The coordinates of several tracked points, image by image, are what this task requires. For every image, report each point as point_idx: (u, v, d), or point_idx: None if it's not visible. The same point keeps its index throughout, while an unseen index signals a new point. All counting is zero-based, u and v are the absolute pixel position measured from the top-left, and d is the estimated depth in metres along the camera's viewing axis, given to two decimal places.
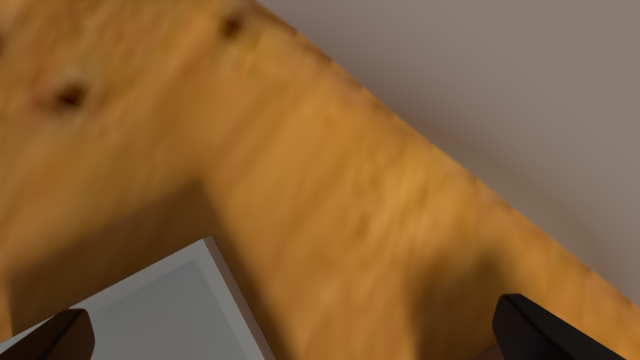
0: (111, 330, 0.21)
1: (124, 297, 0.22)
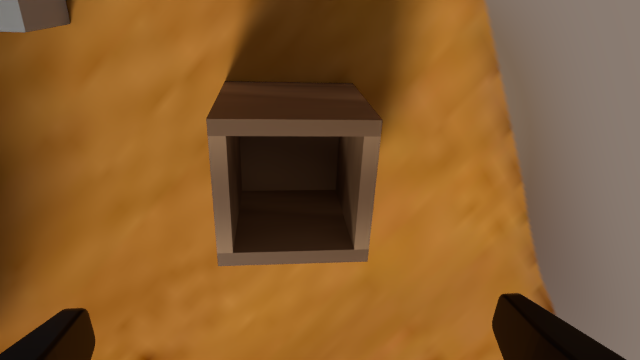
0: None
1: None
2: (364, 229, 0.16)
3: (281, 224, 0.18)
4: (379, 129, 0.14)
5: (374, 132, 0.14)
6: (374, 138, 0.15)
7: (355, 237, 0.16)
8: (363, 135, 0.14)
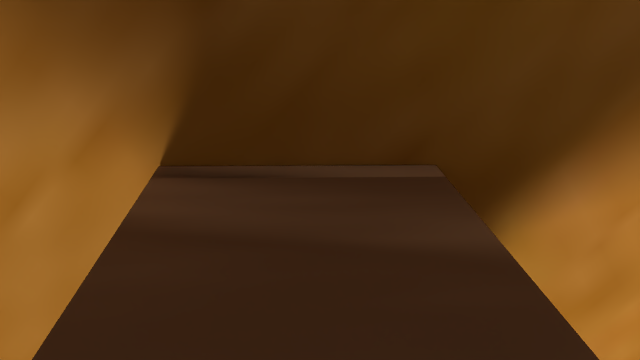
0: None
1: None
2: None
3: None
4: None
5: None
6: None
7: None
8: None
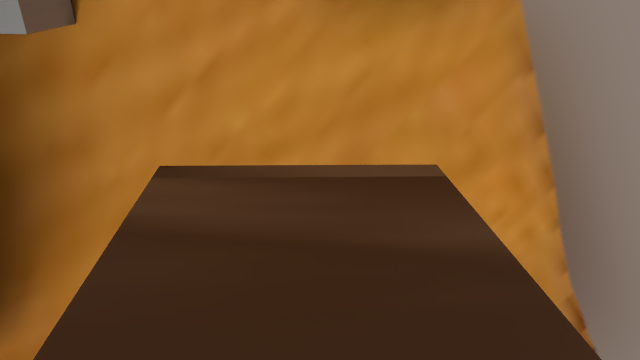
0: None
1: None
2: None
3: None
4: None
5: None
6: None
7: None
8: None
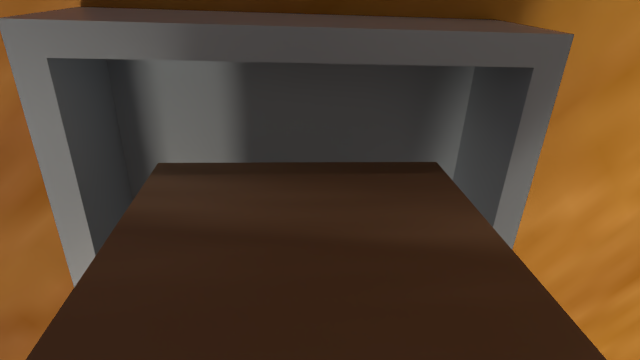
0: (264, 91, 0.11)
1: None
2: None
3: None
4: None
5: None
6: None
7: None
8: None
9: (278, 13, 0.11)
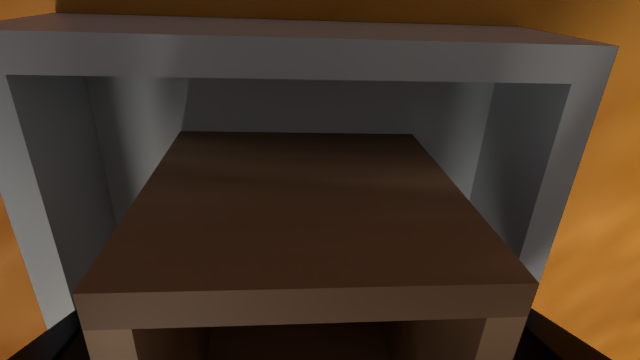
0: (261, 106, 0.10)
1: None
2: None
3: None
4: (527, 302, 0.06)
5: (514, 309, 0.06)
6: (510, 321, 0.06)
7: None
8: (486, 316, 0.06)
9: (277, 19, 0.10)
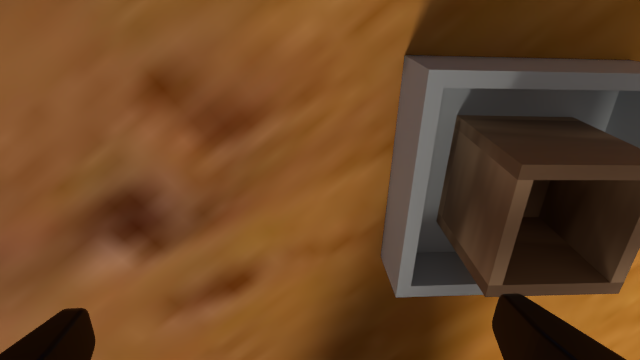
0: (500, 102, 0.20)
1: None
2: (626, 264, 0.17)
3: (520, 254, 0.19)
4: None
5: None
6: None
7: (615, 271, 0.17)
8: None
9: (512, 58, 0.19)
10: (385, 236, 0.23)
